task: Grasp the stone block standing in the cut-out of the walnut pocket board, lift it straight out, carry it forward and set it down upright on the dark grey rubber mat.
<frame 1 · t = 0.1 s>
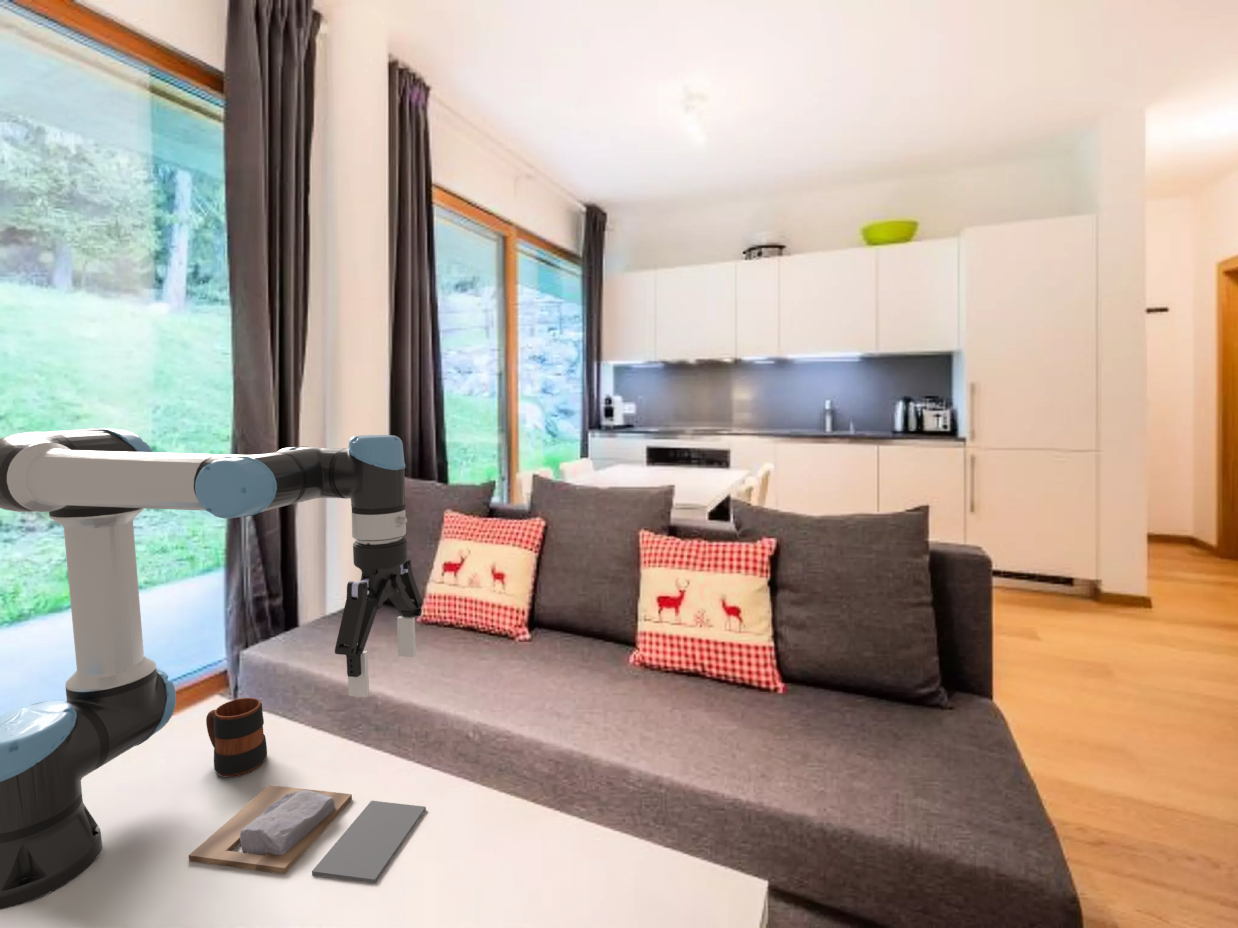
hand: (384, 674, 93), 28 cm above the table, fingers open, 13 cm apart
pocket board: (276, 827, 99), on the table
mug: (234, 764, 116), on the table
stone block: (286, 831, 98), resting in pocket board
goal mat: (373, 839, 96), on the table
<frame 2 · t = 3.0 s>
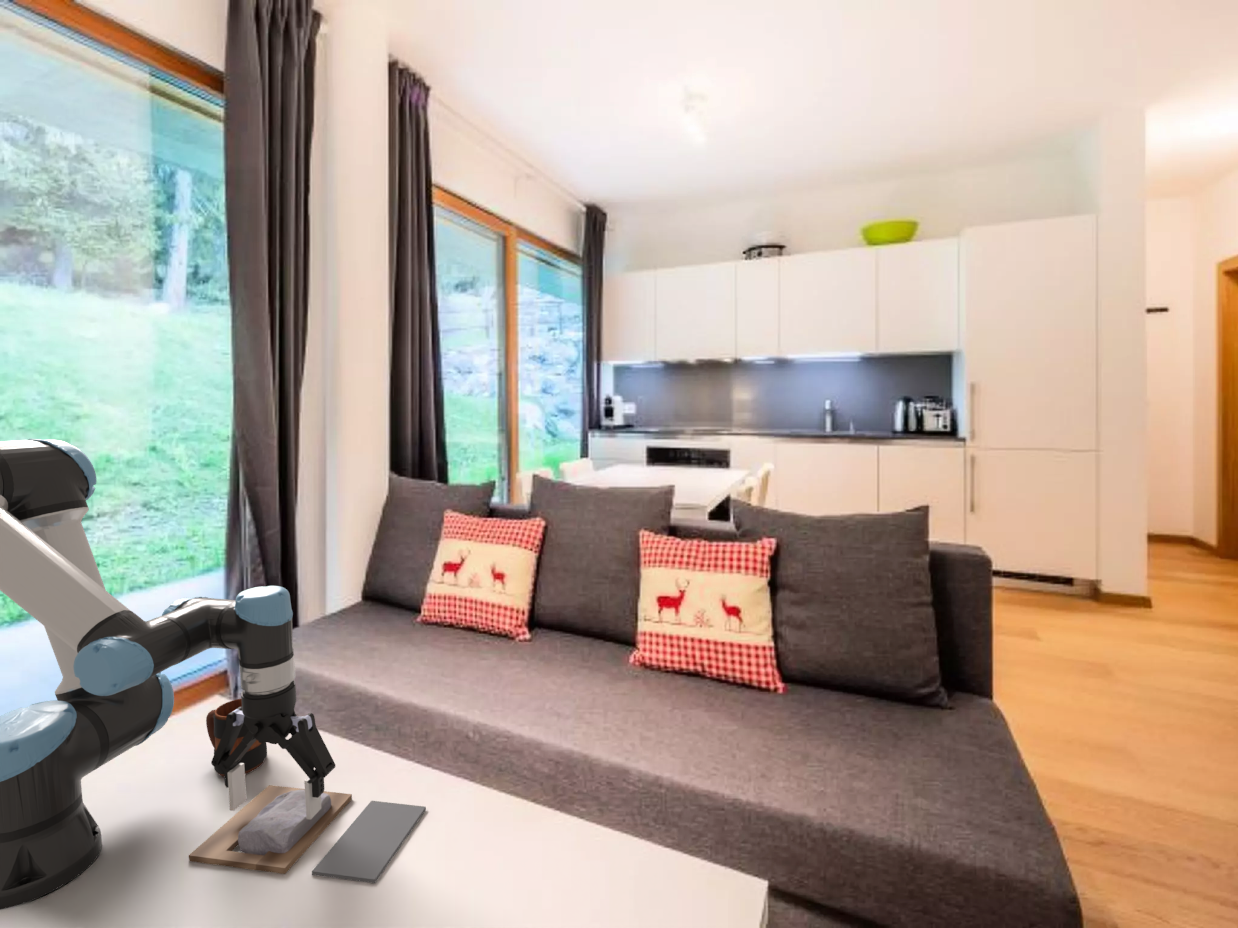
hand: (275, 809, 99), 3 cm above the table, fingers open, 13 cm apart
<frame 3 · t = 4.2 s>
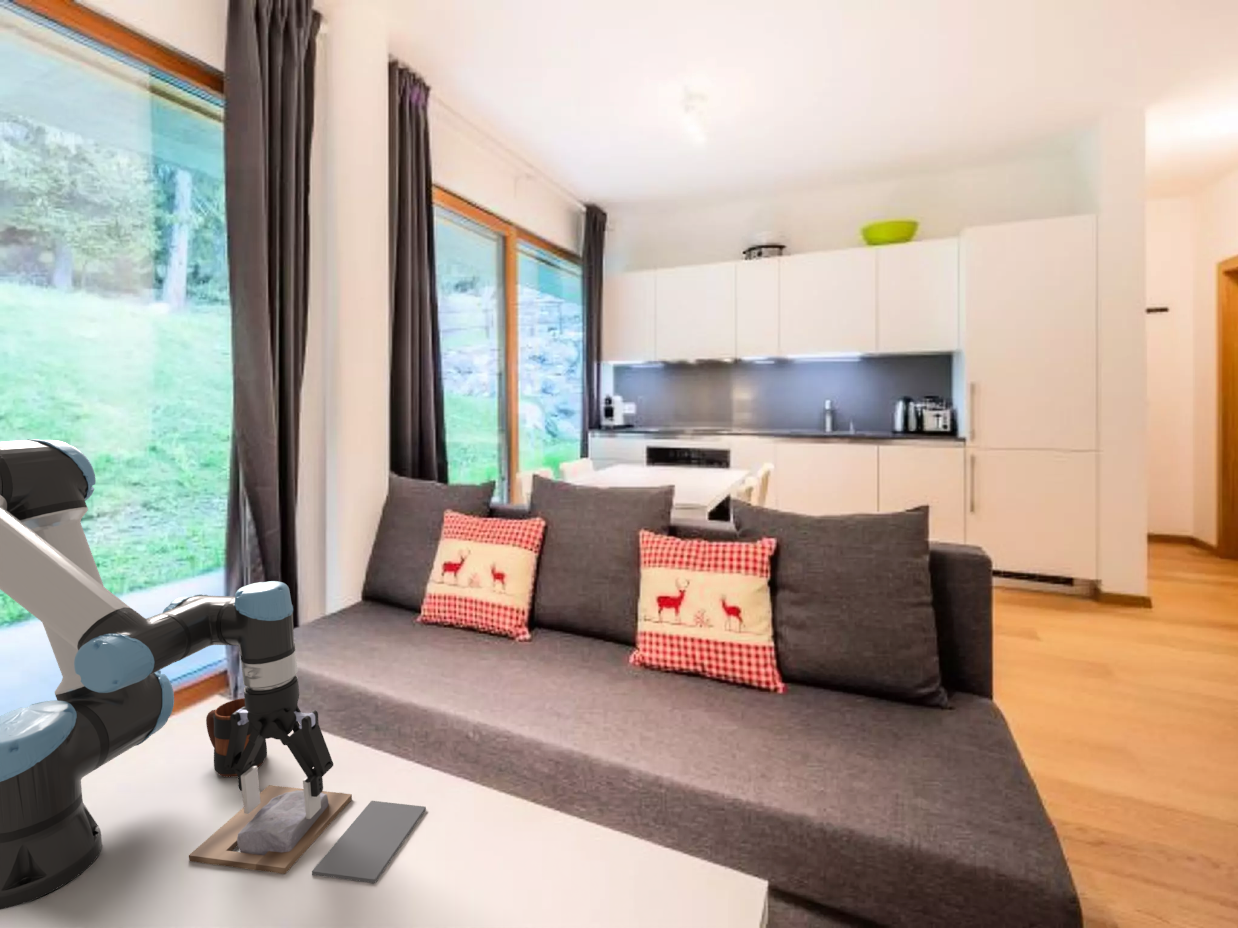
hand: (282, 810, 99), 3 cm above the table, fingers open, 10 cm apart
nothing on the table moved.
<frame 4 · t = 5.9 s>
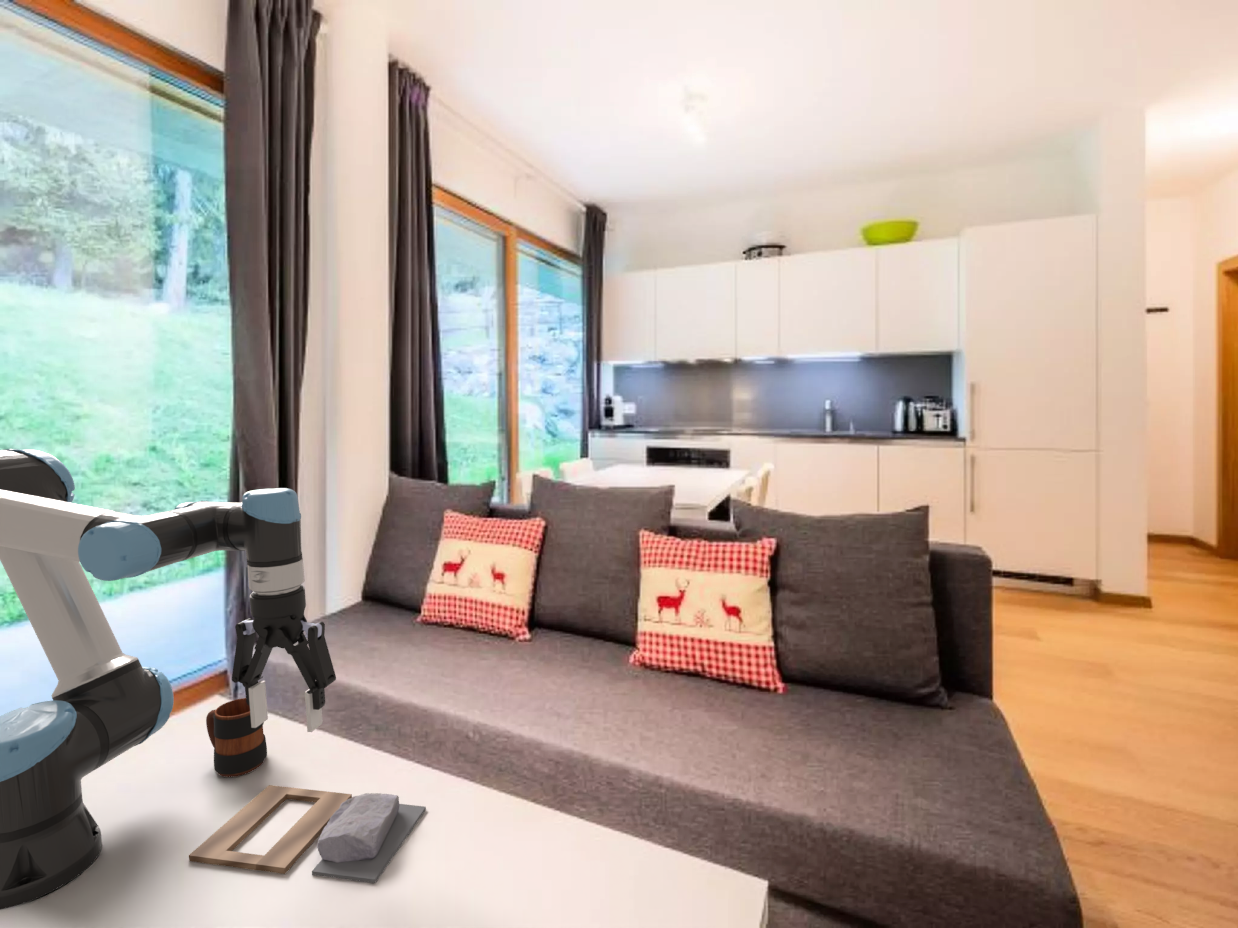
hand: (287, 725, 97), 18 cm above the table, fingers open, 9 cm apart
stone block: (358, 835, 97), resting on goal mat
everything else where it was.
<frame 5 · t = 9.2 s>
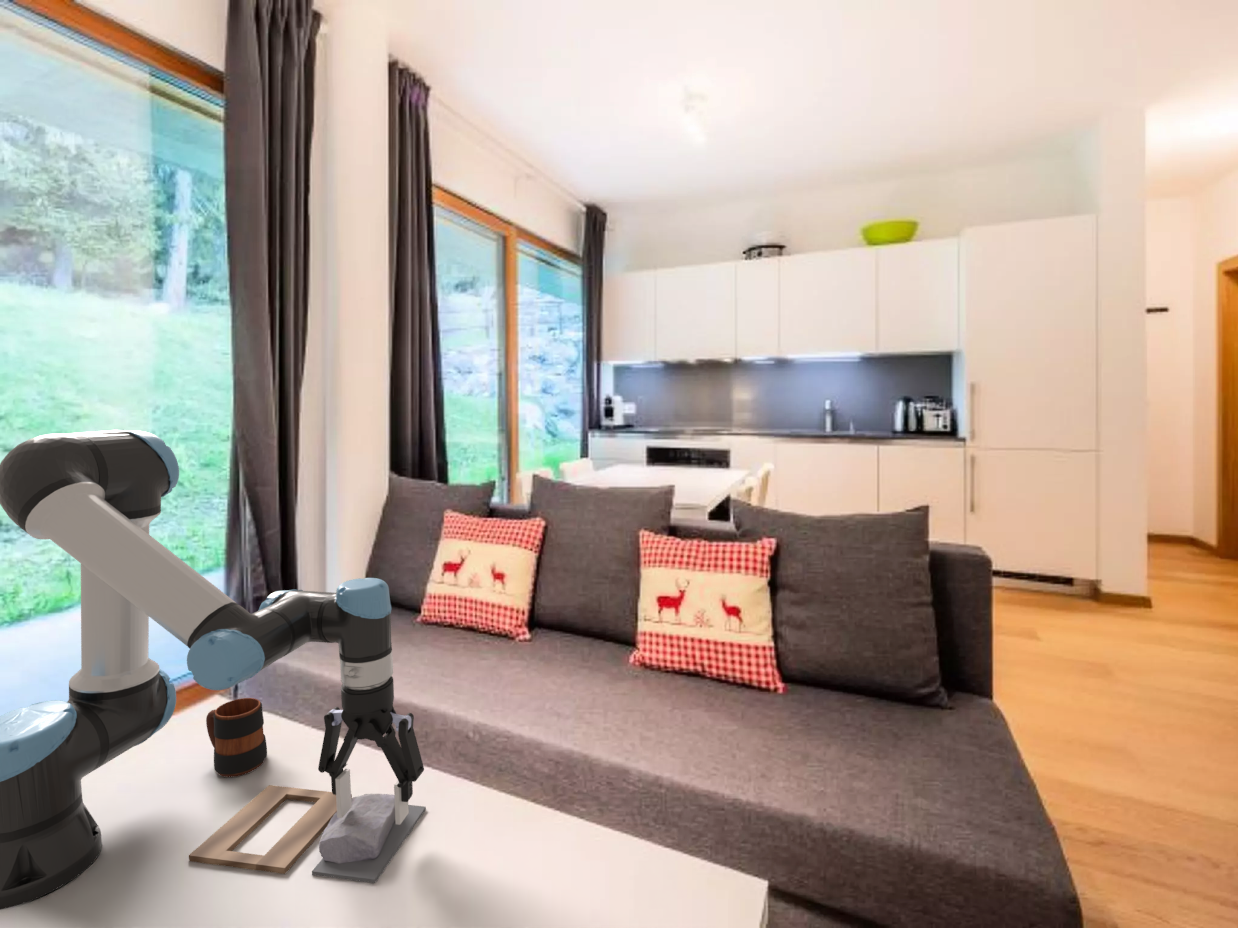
hand: (373, 815, 96), 4 cm above the table, fingers open, 9 cm apart
stone block: (359, 836, 97), resting on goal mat, touching gripper
everything else where it was.
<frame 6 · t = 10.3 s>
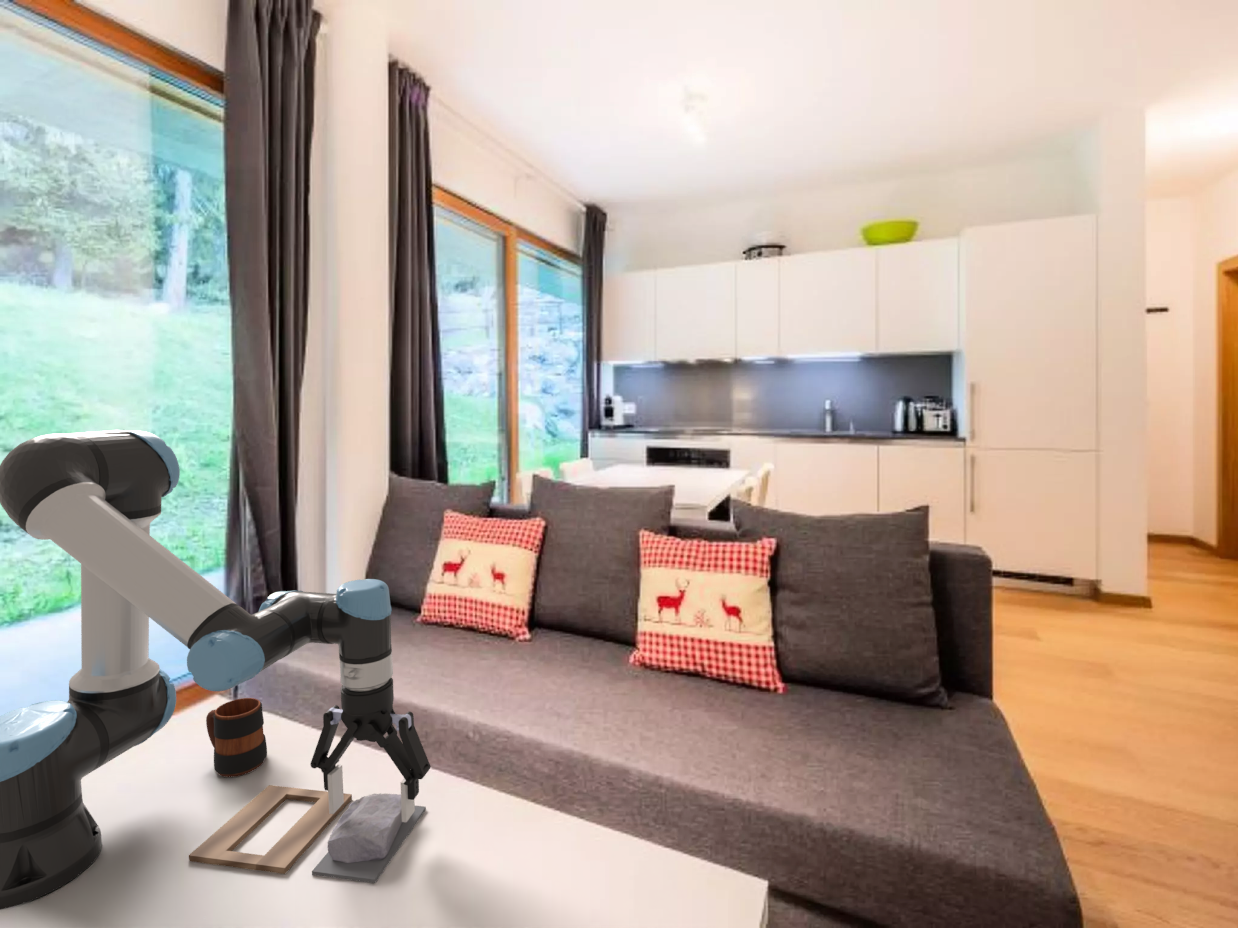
hand: (372, 812, 96), 5 cm above the table, fingers open, 11 cm apart
stone block: (367, 836, 97), resting on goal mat
everything else where it was.
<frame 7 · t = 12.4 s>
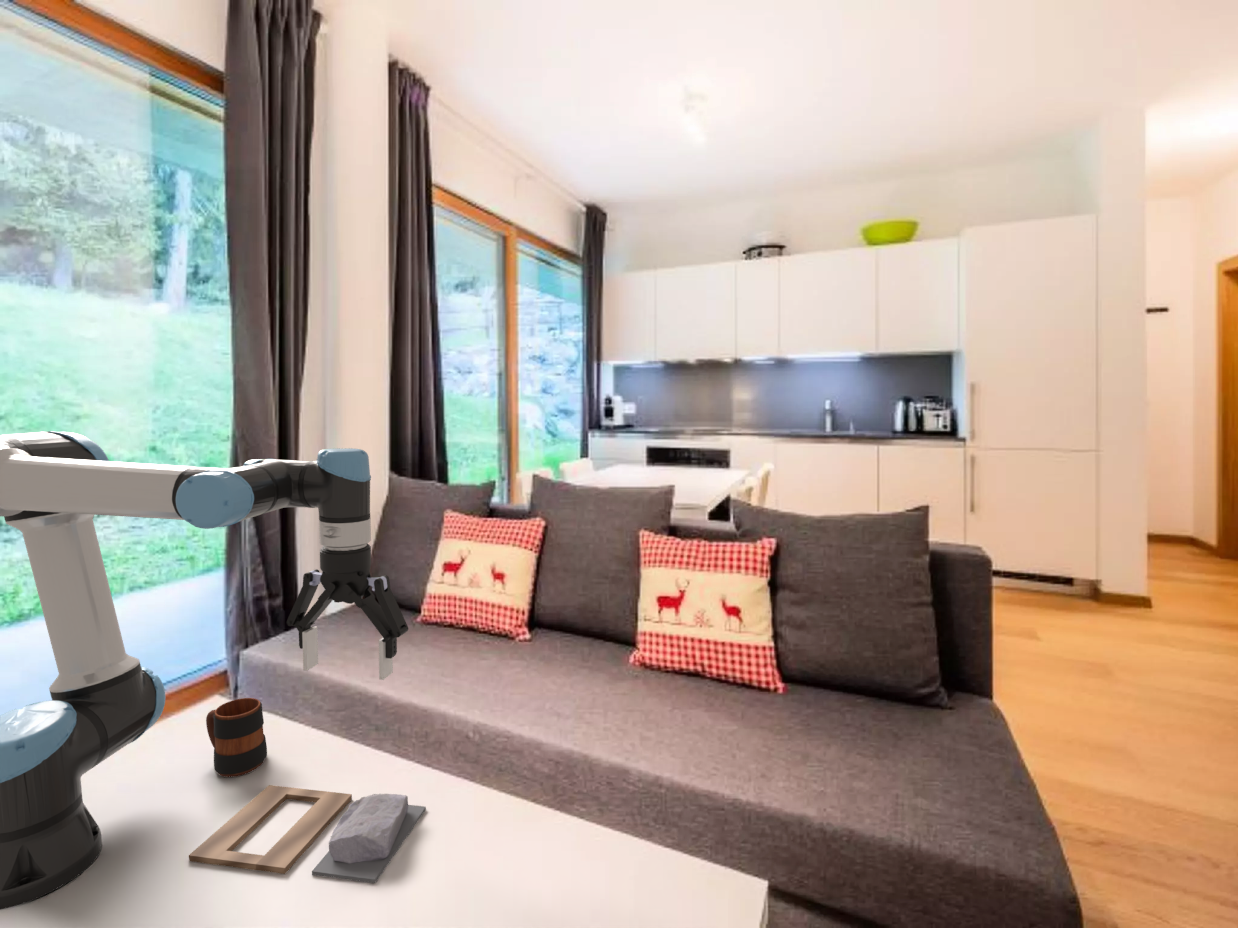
hand: (348, 671, 99), 25 cm above the table, fingers open, 13 cm apart
nothing on the table moved.
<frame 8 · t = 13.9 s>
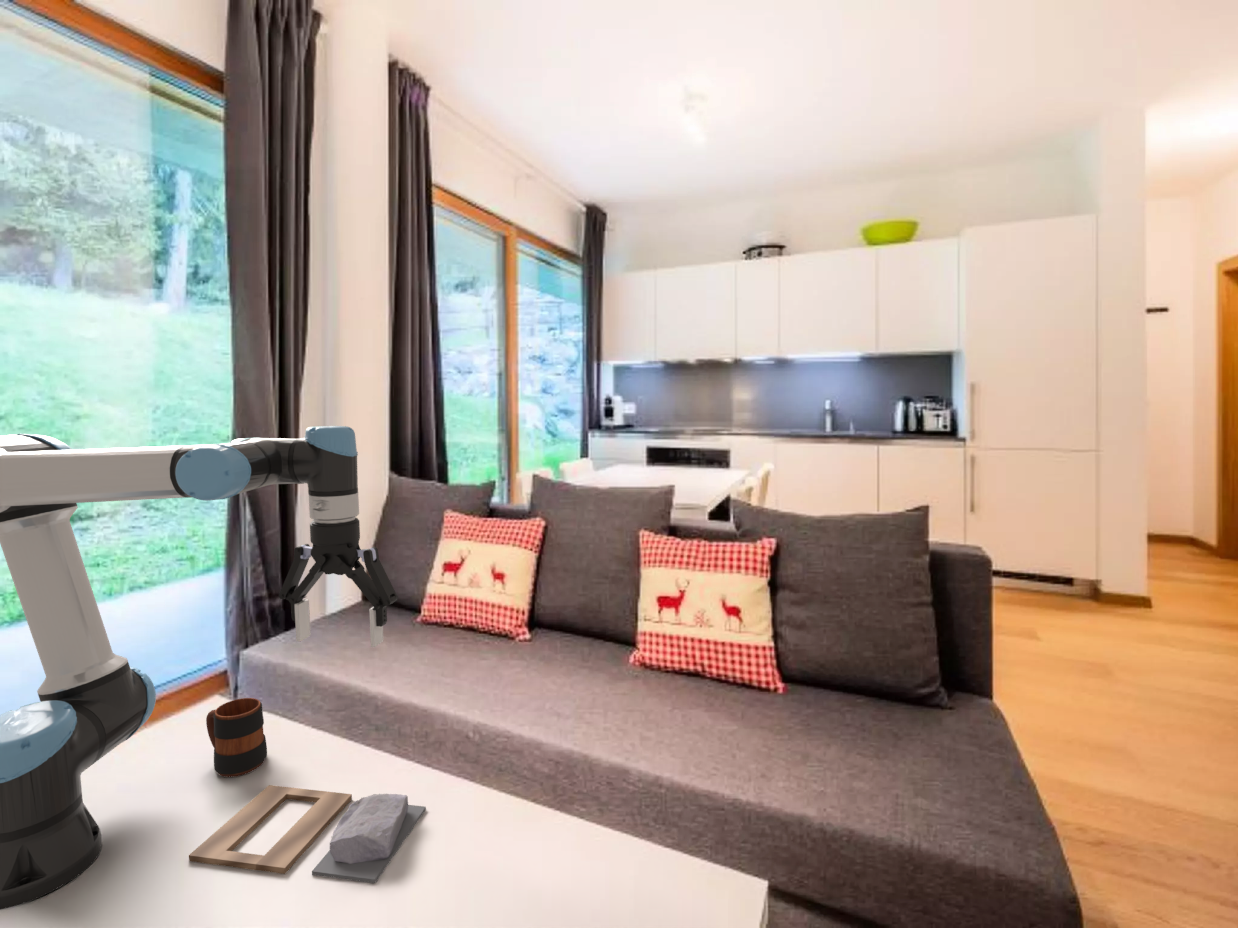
hand: (340, 641, 103), 29 cm above the table, fingers open, 13 cm apart
nothing on the table moved.
at the end: stone block 0.7 cm from the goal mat (horizontally); stone block tilted 0°; the gripper is holding nothing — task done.
